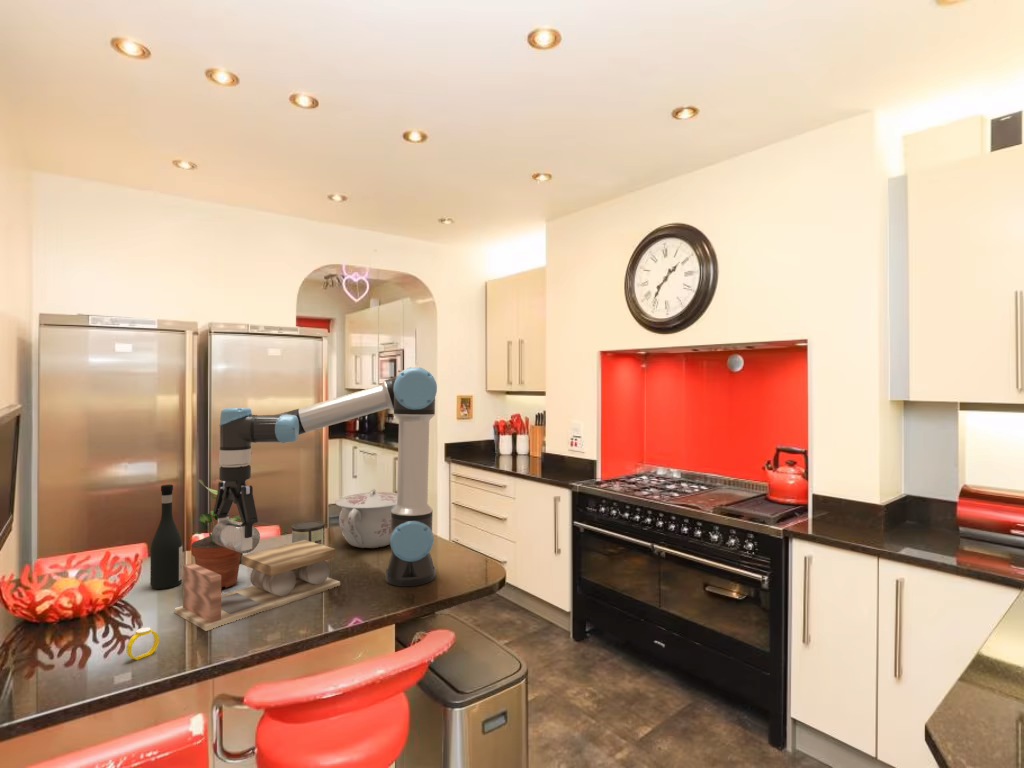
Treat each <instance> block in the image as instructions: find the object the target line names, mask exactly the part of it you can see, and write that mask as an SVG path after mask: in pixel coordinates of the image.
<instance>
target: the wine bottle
mask: <svg viewBox="0 0 1024 768" xmlns="http://www.w3.org/2000/svg"><path fill="white" fill-rule="evenodd" d="M160 491H161V515H160V520H159V524H158V527H157V529H156V531H155V533H154V535H153V538H152V542H151V545H150V568H149V569H150V575H149V576H150V578H149V580H150V583H149V585H150V587H151V588H153V589H154V590H155V589H156V590H167V589H171V588H174V587H176V586H178V585H180V584H181V583H182V582H183V541H182V536H181V533H180V532H179V530H178V528H177V526H176V523H175V520H174V516H173V491H174V485H173V484H163V485H160Z"/></svg>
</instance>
